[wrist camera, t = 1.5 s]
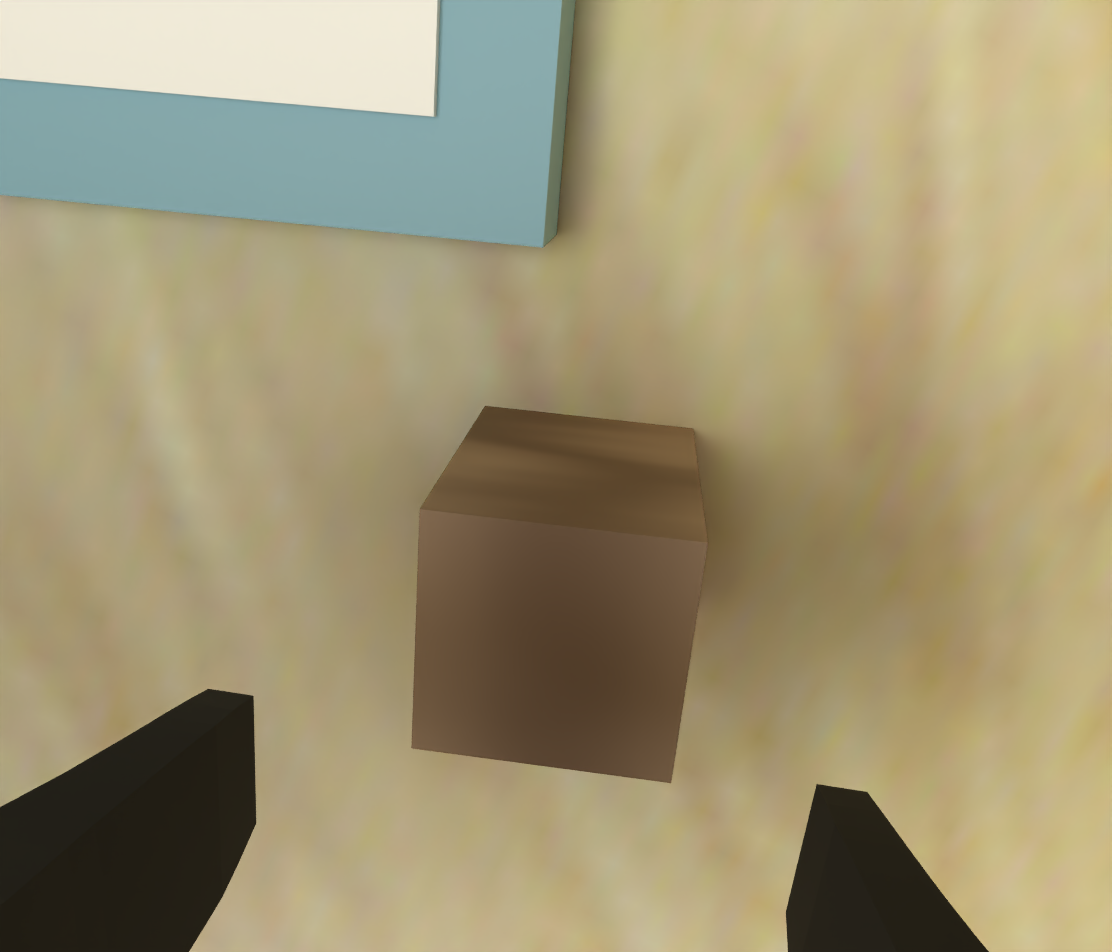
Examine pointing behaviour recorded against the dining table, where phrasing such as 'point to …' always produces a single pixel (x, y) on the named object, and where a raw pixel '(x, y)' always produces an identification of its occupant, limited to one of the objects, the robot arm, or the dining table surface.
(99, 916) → the robot arm
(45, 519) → the dining table surface
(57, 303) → the dining table surface
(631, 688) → the walnut block
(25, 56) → the teal base
